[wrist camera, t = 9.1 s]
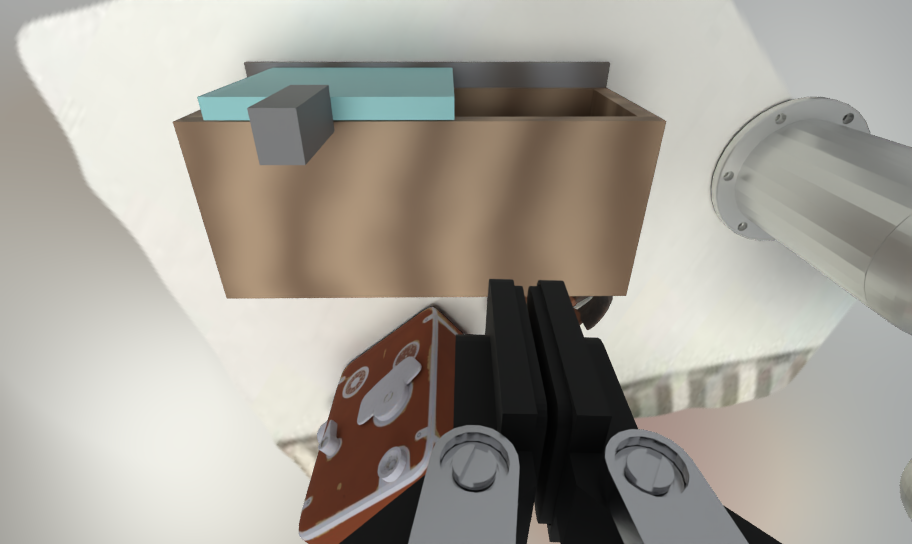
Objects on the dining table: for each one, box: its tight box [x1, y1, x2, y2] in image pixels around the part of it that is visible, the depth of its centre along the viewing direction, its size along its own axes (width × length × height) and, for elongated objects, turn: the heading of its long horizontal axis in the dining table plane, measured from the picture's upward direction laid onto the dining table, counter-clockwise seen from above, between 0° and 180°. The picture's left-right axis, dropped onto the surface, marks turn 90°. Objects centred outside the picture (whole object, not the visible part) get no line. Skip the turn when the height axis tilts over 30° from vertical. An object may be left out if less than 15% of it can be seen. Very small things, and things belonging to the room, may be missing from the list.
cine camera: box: [299, 307, 463, 544], centre depth 43 cm, size 9×19×20 cm, turn 130°
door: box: [197, 68, 454, 165], centre depth 27 cm, size 14×2×18 cm, turn 90°
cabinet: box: [173, 62, 666, 298], centre depth 34 cm, size 28×14×12 cm, turn 90°
